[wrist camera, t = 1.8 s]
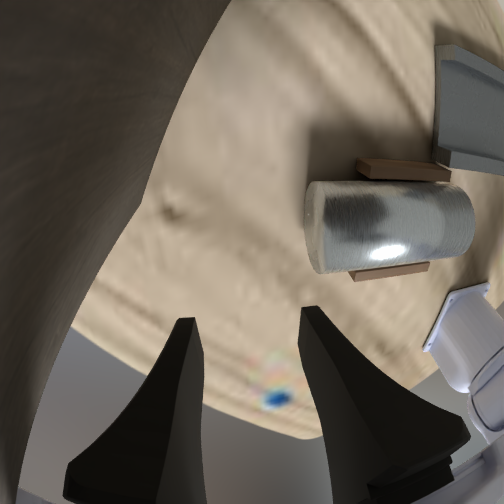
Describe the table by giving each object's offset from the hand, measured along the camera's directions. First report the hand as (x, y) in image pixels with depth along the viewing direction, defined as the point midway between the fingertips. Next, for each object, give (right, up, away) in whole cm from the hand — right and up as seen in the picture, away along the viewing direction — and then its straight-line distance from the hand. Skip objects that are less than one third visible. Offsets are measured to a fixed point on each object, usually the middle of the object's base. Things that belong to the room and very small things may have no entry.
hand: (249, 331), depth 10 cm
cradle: (+18, +14, +5) cm, 23 cm away
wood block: (-13, +20, -2) cm, 24 cm away
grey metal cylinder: (+9, +6, +9) cm, 14 cm away
